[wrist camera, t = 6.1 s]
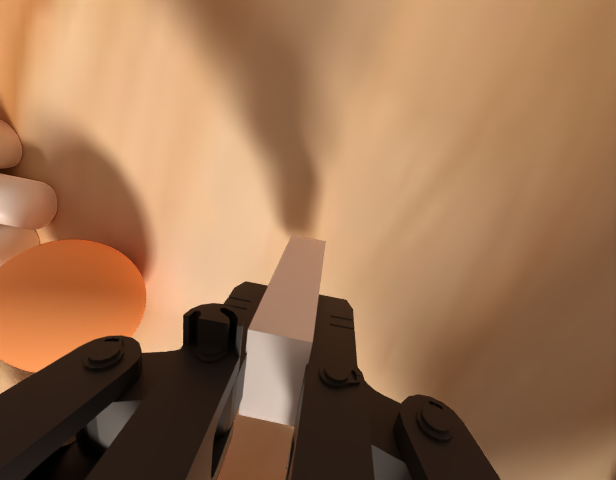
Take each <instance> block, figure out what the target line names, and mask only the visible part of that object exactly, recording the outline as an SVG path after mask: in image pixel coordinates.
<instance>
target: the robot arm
mask: <svg viewBox="0 0 616 480" xmlns="http://www.w3.org/2000/svg"><path fill="white" fill-rule="evenodd" d="M325 242H326V241H321V240H316V239H311V238H305V237H300V236H295V235H292V236H291V238H290V240H289V242H288V244H287V246H286V248H285V251H284V253H283V255H282V257H281V259H280V261H279V264H278V266H277V268H276V270H275V272H274V274H273V276H272V279H271V281H270V283H269V285H268V286H267V285H261V284H256V283H251V282H246V281H245V282H244V283H242V284H240V285H238V286H237V287H235V288H234V289H233V291H232V292H231V294H230V295H229V298H227V300H226V301H225V303H224V304H216V303H211V304H204V305H200V306H197V307H195V308H192V309H190V310H189V311H188V312H187V313H185V314H184V315H183V346H182V347H181V349H179V350H175V351H168V352H152V353H142V352H141V347H140V344H139V343H138V342H137V341H136V340H135V339H133V338H131V337H127V336H123V335H117V336H106V337H102V338H98V339H94V340H92V341H90V342H88V343H85V344H83V345H81V346H80V347H78V348H76V349H75V350H73V351H71V352H70V353H68V354H66V355H65V356H63V357H61V358H60V359H58V360H56V361H55V362H53V363H51V364H50V365H48V366H46V367H45V368H43V369H41V370H40V371H38V372H36V373H35V374H33V375H31V376H30V377H28V378H26V379H24V380H23V381H21V382H19V383H18V384H16V385H14V386H13V387H11V388H9V389H8V390H6V391H4V392H3V393H1V394H0V480H217V478H218V475H219V472H220V469H221V466H222V464H223V461H224V458H225V455H226V452H227V449H228V446H229V444H230V441H231V438H232V433H233V425H234V419H235V416H236V413H237V411H238V408H239V405H240V409H239V415H242V416H247V417H252V418H257V419H261V420H266V421H271V422H275V423H280V424H285V425H290V426H294V427H295V428H294V434H293V439H292V444H291V449H290V453H289V458H288V463H287V468H286V470H287V474H286V480H500V478H499V476H498V475H497V473H496V472H495V470H494V469H493V467H492V466H491V464H490V463H489V461H488V460H487V458H486V457H485V455H484V453H483V452H482V450H481V449H480V447H479V446H478V444H477V443H476V441H475V440H474V438H473V437H472V435H471V434H470V432H469V431H468V429H467V427H466V426H465V424H464V423H463V422H462V420H461V419H460V418H459V417H458V416H457V415H456V413H455V412H454V411H453V410H451V409H450V408H449V407H447V406H446V405H445V404H444V403H442V402H440V401H438V400H436V399H434V398H432V397H429V396H423V395H414V396H409V397H407V398H406V399H405V400H404V401H403V402H402V404H400V403H398V402H396V401H394V400H392V399H390V398H388V397H386V396H384V395H382V394H380V393H379V392H377V391H375V390H374V389H373V388H372V387H370V386H369V385H368V384H367V383H366V382H365V380H364V377H363V374H362V372H361V371H360V370H359V368H358V366H357V356H356V343H355V331H354V322H353V321H354V317H353V309H352V307H351V306H350V305H349V303H348V302H347V300H344V299H339V298H334V297H329V296H324V295H319V289H320V281H321V274H322V266H323V258H324V250H325Z"/></svg>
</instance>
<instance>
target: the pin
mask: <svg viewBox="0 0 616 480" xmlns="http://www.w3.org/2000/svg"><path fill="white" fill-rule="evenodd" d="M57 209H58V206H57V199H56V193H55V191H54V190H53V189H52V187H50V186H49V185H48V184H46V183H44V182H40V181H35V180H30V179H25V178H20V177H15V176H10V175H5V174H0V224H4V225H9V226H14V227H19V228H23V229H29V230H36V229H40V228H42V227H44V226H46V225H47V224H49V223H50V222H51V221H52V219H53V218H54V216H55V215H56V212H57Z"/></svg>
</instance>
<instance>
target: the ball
mask: <svg viewBox="0 0 616 480" xmlns="http://www.w3.org/2000/svg"><path fill="white" fill-rule="evenodd" d="M145 307H146V288H145V284H144V281H143V278H142V276H141V274H140V272H139V270H138V269H137V267H136V266H135V265H134V264H133V263H132V262H131V260H130V259H129V258H127V257H126V256H125V255H124V254H122V253H121V252H119V251H117V250H116V249H114V248H112V247H110V246H107V245H104V244H101V243H98V242H94V241H88V240H79V239H68V240H58V241H52V242H47V243H44V244H40V245H37V246H34V247H32V248H29V249H27V250H25V251H23V252H21V253H19V254H17V255H16V256H14V257H13V258H11V259H10V260H8V261H7V262H6V263H5V264H3V265H2V266H1V267H0V359H1V360H2V361H4V362H6V363H7V364H9V365H12V366H14V367H16V368H19V369H22V370H25V371H29V372H38V371H40V370H41V369H43V368H45V367H46V366H48V365H50V364H51V363H53V362H55V361H56V360H58V359H60V358H61V357H63V356H65V355H66V354H68V353H70V352H71V351H73V350H75V349H76V348H78V347H80V346H81V345H83V344H85V343H88V342H90V341H92V340H94V339H98V338H102V337H106V336H117V335H123V336H127V337H131V336H132V335H133V334H134V332H135V331H136V329H137V328H138V326H139V324H140V322H141V320H142V317H143V314H144V311H145Z"/></svg>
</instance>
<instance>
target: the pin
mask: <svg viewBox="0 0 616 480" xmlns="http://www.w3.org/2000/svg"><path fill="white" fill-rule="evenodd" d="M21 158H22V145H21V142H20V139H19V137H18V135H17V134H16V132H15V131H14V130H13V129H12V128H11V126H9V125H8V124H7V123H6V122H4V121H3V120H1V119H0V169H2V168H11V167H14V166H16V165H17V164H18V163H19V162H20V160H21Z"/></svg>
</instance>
